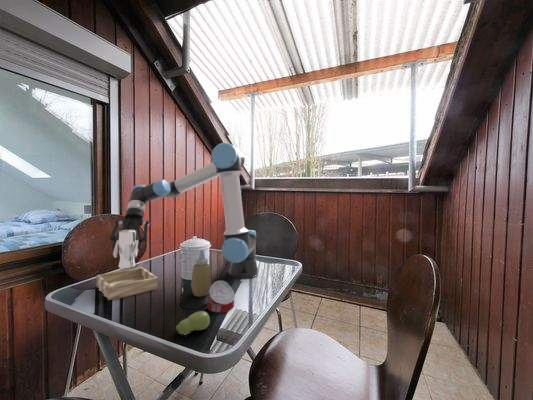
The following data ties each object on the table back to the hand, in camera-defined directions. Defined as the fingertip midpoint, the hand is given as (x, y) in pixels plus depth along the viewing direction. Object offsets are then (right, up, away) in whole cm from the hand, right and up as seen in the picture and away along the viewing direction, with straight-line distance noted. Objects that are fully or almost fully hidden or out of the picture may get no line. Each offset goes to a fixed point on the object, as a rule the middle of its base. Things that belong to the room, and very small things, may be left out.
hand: (125, 255), depth 101 cm
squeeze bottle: (+31, -16, +1) cm, 35 cm away
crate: (-1, -15, +4) cm, 15 cm away
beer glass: (-1, -6, +4) cm, 7 cm away
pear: (+35, -17, -25) cm, 47 cm away
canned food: (+41, -17, -9) cm, 45 cm away
